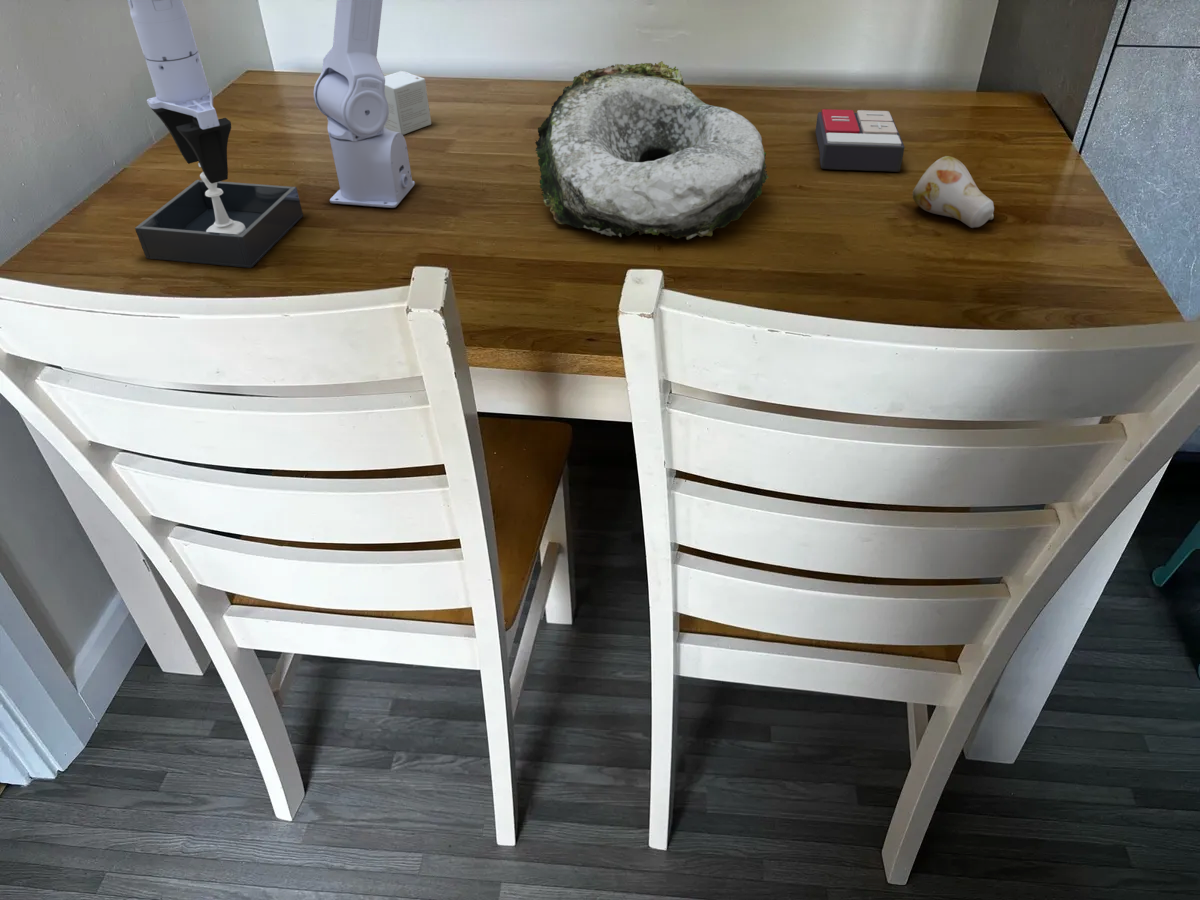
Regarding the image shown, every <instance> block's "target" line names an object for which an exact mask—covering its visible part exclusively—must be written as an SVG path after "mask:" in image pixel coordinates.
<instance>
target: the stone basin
mask: <svg viewBox="0 0 1200 900" xmlns="http://www.w3.org/2000/svg"><path fill="white" fill-rule="evenodd" d="M537 133H538V134H537V135H538V139H537V140H535V142H534V143H535V145H536V148H535V149H534V150H535V151H534V152H536V154H537V155H536V156H537V158H538V160H537V161H538V162H537V163H538V164H537V165H538V166H539V172H540V176H539V177H540V180H539V184H540V185H539V189H541V190H540V192H541V191H542V192H541V193H542V194H541V196H542V197H543V203H544V205H545V206H546V207H548V208H549V212H551V214H552V215H553V220H554V222H555V223H557V224H559V225H568V226H571V227H573V228H576V229H579V230H580V229H583V228H584V229H587V230H591V231H593V232H596V233H598V234H599V233H600V235H606V236H609V237H612V236H619V237H620V238H622V236H623V235H625V236H628V237H630V236H631V235H633V234H635V233H636V232H638V235H640V236H642V235H644V234H645V235H648V234H651V235H653V236H655V235H656V236H659V235H660V234H663V235H664V236H665V237H670V236H671V237H672V238H673V239H681V238H684V237H685V239H686V240H687V241H689V240H691V239H692V238H695V237H696V236H699V237H700V238H702V237H704V236H707V237H712V236H713V235H714V234H713V233H714V232H713V231H715V230H716V229H722V228H726V227H727V225H729V224H731V223H732V222H734V221H737V220H739V219H740V217H742V216H743V214H744V212H745V211H747V210H748V208H749V207H751V204H752V203H754V201H756V199H758V197H761V196H762V193H763V190H762V188H763V186H764V184H765V183H767V180H768V179H769V178H770V177H769V175H768V173H767V172H768V171H767V164H766V155H767V152H765V150H764V145H763V138H762V135H761V134H760V132H759V131H758V129H757V128H756V126H755V125H754V124H753V123H752V122H751V121H750V120H749V119H748V118H745V117H744V116H743V115H741V114H740V113H737V112H735V111H733V110H731V109H729V108H727V107H721V106H716V105H710V104H708V103H705V102H704V101H702V100H701V99H700V98H699V97H698V96H697V95H696V94H695V93H694V92H693V90H692V88H691V87H687V86H685V82H684V77H683V75H682V71H681V70H680V69H679V68H677V66H676V65H675V66H674V67H670V66H669V64H668V65H667V64H665V63H664V61H663V60H661V61H660V62H657V63H656V62H655V63H654V64H653V63H652V62H641V63H636V64H629V63H628V64H627V63H626V64H622V63H620V64H619V63H615V64H612V65H609V66H607V67H603V68H599V67H598V68H596V69H594V70H591V69H588V70H586V71H583V72H581V73H579V74H578V75H577V76H576V75H575V76H573V80H572V84H571V85H568V86H564V88H563V90H562V94H561V95H559V96H558V97H557V99H556V100H555V101H554V102H553V105H551V107H550V112H549V114H548V116H547V117H546V118H545V119H544V121H542V123H541V124H540V126H539V127H537Z"/></svg>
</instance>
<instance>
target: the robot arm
mask: <svg viewBox="0 0 1200 900" xmlns="http://www.w3.org/2000/svg"><path fill="white" fill-rule="evenodd" d="M126 3H127V4H128V7H129V14H130V18H131V21H132V25H133V27H134V30H135V32H136V37H137V40H138V42H139V46H140V48H141V52H142V55H143V57H144V61H145V64H146V67H147V70H148V73H149V76H150V79H151V82H152V83H151V84H152V85H153V89H154V92H155V96H153V97H149V98H147V99H146V102H147V105H148V107H149V108H150V109H151V111H153V113H154V114H155V115H156V116H157V117H158V118H159V119H160V121H161V122H162V123H163V125H164V126H165V127H166V129H167V130H168V132H169V134H170V135H171V137H172V139H173V141H174V142H175V144H176V146H177V148H178V150H179V152H180V154H181V155H182V157H183V159H184V160H185V162H186V163H187V164H188V165H190V164H194V163H197V162H198V163H200V166H201V167H200V168H201V170H202V172H204V174H205V176H206V178H207V179H208V181H209V182H210V183H216V182H219V181H222V182H224V181H226V180H228V179H229V168H228V167H229V166H228V142H229V137H230V133H231V130H232V121H231V120H229V119H228V118H226V117H223V118H219V116H218V114H217V110H216V108H215V107H214V95H213V92H212V88H210V87H209V83H208V79H207V77H206V73H205V69H204V66H203V62H202V59H201V56H200V51H199V48H198V45H197V42H196V39H195V35H194V32H193V28H192V24H191V21H190V18H189V13H188V11H187V7H186V6H185V4H184V0H126ZM382 9H383V0H336V4H335V17H334V29H333V41H332V47H331V49H330V50H329V51H328V52H327V53H326V54H325V56H324V57H323V59H322V69H321V72H320V75H319V76H318V78H317V79H316V81H315V83H314V87H313V100H314V103H315V105H316V107H317V109H318V111H319V112H320V113H322V114H323V116H326V119H327V126H326V127H327V133H328V138H329V143H330V147H331V152H332V153H331V154H332V157H333V161H334V166H335V171H336V176H337V180H338V181H337V182H338V185H339V189H338V190H337V191H336V192H335V193H334V194H333V196H331V197H330V199H329V202H330V203H331V204H335V205H336V204H338V205H350V206H360V207H361V206H363V207H374V208H375V207H376V208H387V209H388V208H390V209H394V208H397V206H398V205H399V204H400V203H401V202H402V201H403V200H404V198H405V197H406V196H407V195H408V194H409V192H410V191H411V190H412V189H413V187H415V185H416V182H415V180H413V176H412V170H411V163H410V158H409V151H408V146H407V141H406V138H405V136H404V135H402V134H401V133H399V132H395V131H391V130H389V129H387V128H385V127H384V125H385V124H386V122H387V119H388V114H389V107H388V103H387V100H386V97H385V77H384V76H385V74H384V72H383V70H382V68H381V67H382V66H381V64H380V62H379V60H378V57H377V56H378V47H379V37H380V30H381V29H380V27H381V20H382V19H381V18H382Z"/></svg>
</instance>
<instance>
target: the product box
mask: <svg viewBox="0 0 1200 900" xmlns="http://www.w3.org/2000/svg"><path fill="white" fill-rule="evenodd" d="M384 77H385V97H386V100H387V103H388V107H389V114H388V119H387V122H386V124H385V125H384V127H385V128H387V129H389V130H391V131H395V132H399V133H401V134H402V135H403V136H404V135H406V134H409V133H413V132H414V131H417V130H420V129H422V128H425V127H428V126H431V125H432V117H431V112H430V105H429V98H428V97H429V96H428V91H427V90H428V89H427V84H426V78H424V77H421V76H419V75H416V74H413V73H410V72H407V71H405V70H399V71H396V72H393V73H390V74H387V75H384Z"/></svg>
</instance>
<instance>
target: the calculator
mask: <svg viewBox="0 0 1200 900" xmlns="http://www.w3.org/2000/svg"><path fill="white" fill-rule="evenodd" d="M815 123H816V124H815V137H816V142H817V147H818V152H819V164H820V168H821V169H823V170H836V171H837V170H838V171H866V172H870V171H871V172H892V173H893V172H896V173H897V172H900V171H901V168H902V162H903V157H904V152H905V148H906V147H905V145H904V142H903V139H902V137H901V135H900V133H899V130H898V127H897V125H896V122H895V121H894V117H893V116H892V114H891V113H890V111H889V110H867V109H866V110H865V109H858V110H857V111H856V112H855V111H854V110H853V109H833V108H829V109H828V108H823V109H821V111H819V112H817V116H816V122H815Z"/></svg>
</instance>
